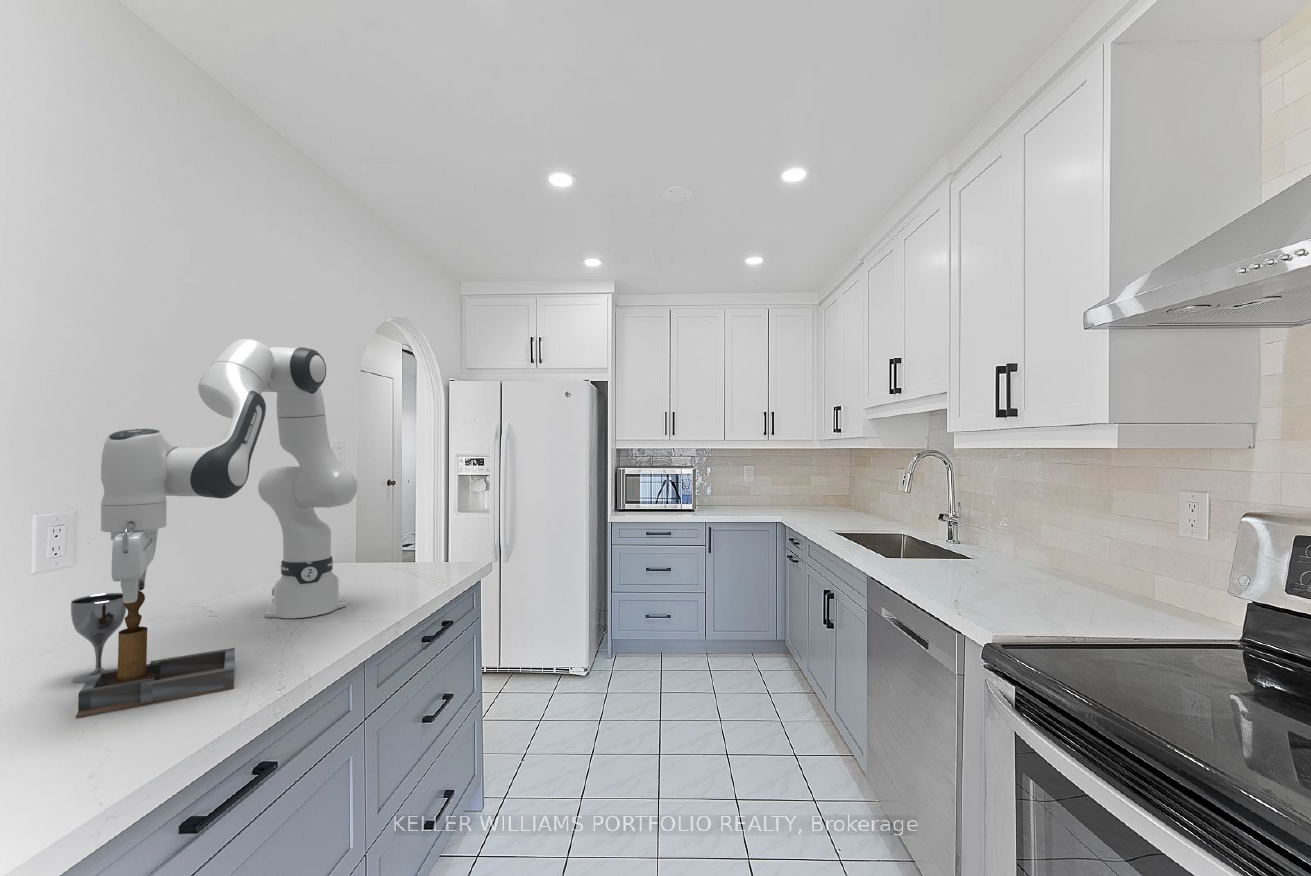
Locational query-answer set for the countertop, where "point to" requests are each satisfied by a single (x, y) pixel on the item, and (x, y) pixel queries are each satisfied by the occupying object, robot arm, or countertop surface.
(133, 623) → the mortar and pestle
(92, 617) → the wine glass
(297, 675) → the countertop surface
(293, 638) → the countertop surface
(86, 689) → the tray
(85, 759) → the countertop surface
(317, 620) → the countertop surface
